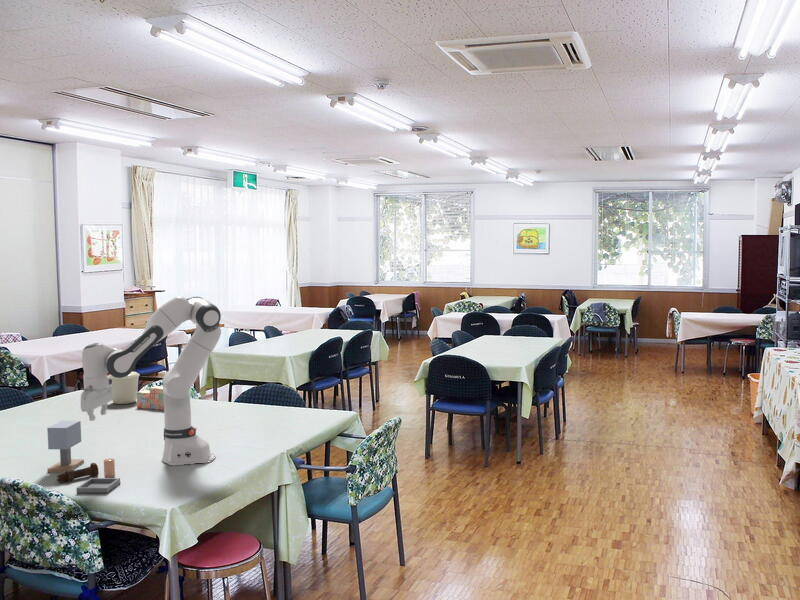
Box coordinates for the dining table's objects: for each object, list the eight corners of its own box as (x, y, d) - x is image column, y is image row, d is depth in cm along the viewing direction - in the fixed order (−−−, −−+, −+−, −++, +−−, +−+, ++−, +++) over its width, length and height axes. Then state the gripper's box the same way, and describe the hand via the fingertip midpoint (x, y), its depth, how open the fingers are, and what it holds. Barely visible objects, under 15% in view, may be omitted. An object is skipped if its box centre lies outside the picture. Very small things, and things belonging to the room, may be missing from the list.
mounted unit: (83, 462, 308) (82, 420, 307) (69, 472, 296) (67, 428, 294) (62, 462, 309) (60, 420, 307) (46, 472, 296) (44, 428, 294)
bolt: (57, 487, 283) (96, 477, 293) (60, 484, 279) (99, 474, 289) (54, 473, 284) (92, 464, 294) (57, 470, 281) (96, 460, 291)
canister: (134, 398, 440) (133, 364, 439) (145, 402, 427) (144, 367, 425) (104, 402, 429) (102, 367, 427) (114, 407, 415) (112, 371, 413)
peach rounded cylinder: (116, 475, 291) (116, 458, 291) (112, 478, 287) (111, 461, 287) (107, 475, 291) (106, 458, 291) (102, 478, 287) (101, 461, 287)
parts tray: (120, 483, 281) (120, 478, 281) (107, 493, 269) (106, 488, 269) (91, 483, 281) (90, 478, 281) (76, 493, 270) (76, 488, 270)
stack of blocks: (136, 408, 414) (136, 387, 413) (143, 405, 420) (143, 384, 419) (168, 410, 407) (167, 389, 406) (175, 408, 413) (174, 386, 412)
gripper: (90, 388, 278) (93, 423, 279) (114, 378, 299) (116, 411, 300) (75, 389, 279) (77, 424, 280) (99, 378, 299) (102, 411, 300)
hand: (98, 417), depth 290 cm, fingers open, 8 cm apart
